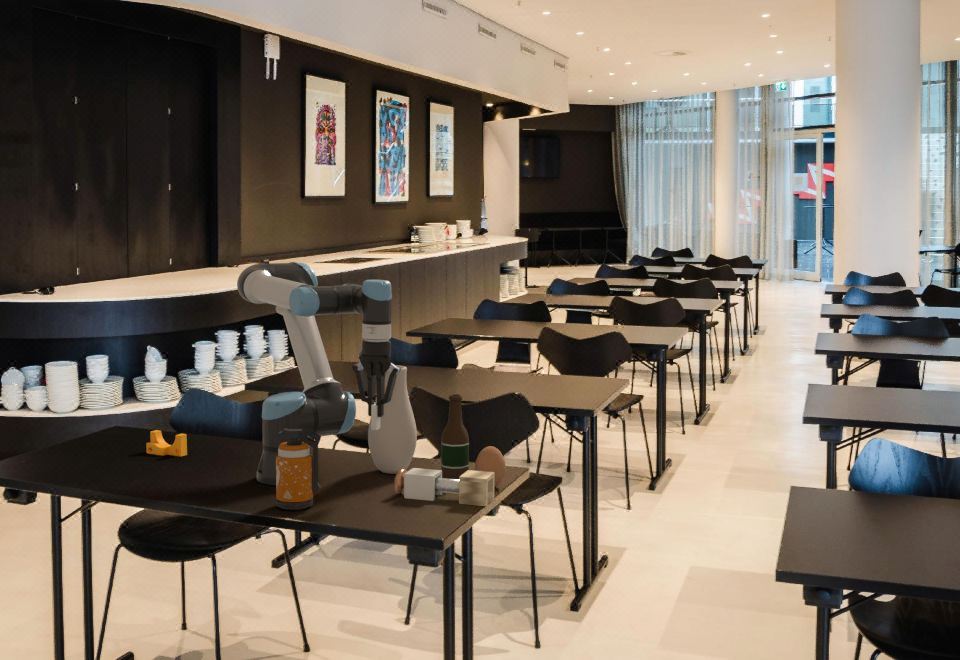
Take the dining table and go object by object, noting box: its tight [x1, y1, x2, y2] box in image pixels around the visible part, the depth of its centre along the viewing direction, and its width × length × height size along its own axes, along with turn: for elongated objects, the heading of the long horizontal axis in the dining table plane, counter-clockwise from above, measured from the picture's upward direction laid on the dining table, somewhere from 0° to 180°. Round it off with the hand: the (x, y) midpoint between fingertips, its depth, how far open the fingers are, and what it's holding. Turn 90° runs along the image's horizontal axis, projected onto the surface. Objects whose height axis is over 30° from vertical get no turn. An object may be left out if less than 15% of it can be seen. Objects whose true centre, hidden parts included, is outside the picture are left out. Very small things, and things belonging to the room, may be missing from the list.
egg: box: [474, 445, 507, 488], centre depth 279 cm, size 8×8×11 cm
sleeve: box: [403, 467, 443, 502], centre depth 270 cm, size 8×7×6 cm
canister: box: [275, 427, 322, 511], centre depth 258 cm, size 9×11×20 cm
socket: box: [458, 469, 495, 507], centre depth 265 cm, size 7×7×7 cm
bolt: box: [393, 469, 459, 495], centre depth 268 cm, size 24×6×6 cm, turn 73°
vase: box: [367, 364, 418, 475], centre depth 293 cm, size 14×14×30 cm
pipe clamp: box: [145, 429, 188, 457], centre depth 313 cm, size 12×4×6 cm, turn 63°
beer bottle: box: [440, 393, 470, 480], centre depth 284 cm, size 8×8×24 cm
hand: (375, 428), depth 272 cm, fingers closed
